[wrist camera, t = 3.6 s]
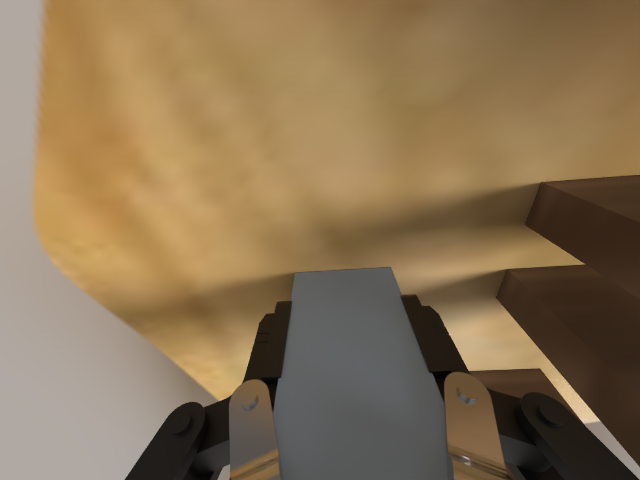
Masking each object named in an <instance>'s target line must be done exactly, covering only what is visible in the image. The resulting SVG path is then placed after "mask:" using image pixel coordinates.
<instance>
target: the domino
mask: <svg viewBox="0 0 640 480" xmlns="http://www.w3.org/2000/svg"><path fill="white" fill-rule="evenodd" d="M400 295H402V294H401V292H400V289H399V287H398V284H397V282H396V279H395V277H394V274H393V271H392V269H391V267H384V268H368V269H351V270H334V271H318V272H301V273H295V276H294V282H293V288H292V295H291V301H292V307H291V314H290V321H289V328H288V334H287V341H286V348H285V355H284V362H283V369H282V375H281V378H278V385H277V391H276V397H275V404H274V410H273V416H274V422H275V428H276V434H277V441H278V447H279V453H280V459H281V465H282V471H283V478H284V480H448V478H447V458H446V439H445V419H444V402H443V399H442V397H441V394H440V392H439V389H438V386H437V384H436V381H435V379H434V376H433V374H432V373H429V371H428V368H427V365H426V363H425V360H424V357H423V355H422V352H421V350H420V347H419V344H418V342H417V339H416V336H415V334H414V331H413V329H412V326H411V323H410V321H409V318H408V315H407V313H406V310H405V308H404V305H403V302H402V300H401V297H400Z"/></svg>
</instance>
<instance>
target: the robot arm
mask: <svg viewBox="0 0 640 480" xmlns="http://www.w3.org/2000/svg"><path fill="white" fill-rule="evenodd" d="M400 297H401V300H402V302H403V305H404V308H405V310H406V313H407V315H408V318H409V321H410V323H411V326H412V329H413V331H414V334H415V336H416V339H417V342H418V344H419V347H420V350H421V352H422V355H423V357H424V360H425V363H426V365H427V368H428V371H429V373H432V374H433V376H434V379H435V381H436V384H437V386H438V389H439V392H440V394H441V397H442V399H443V402H444V419H445V439H446V458H447V478H448V480H513V479H512V478H511V477H509V475H508V474H507V471H506V468H505V464H504V462H505V463H506V465H507V466H508V468H509V469H510V471H511V472H512V473H513V475H514V476H515V478H516V479H517V480H639V479H638V478H637V477H636V476H635V475H634V474H633V473H632V472H631V471H630V470H629V469H628V468H627V467H626V466H625V465H624V464H623V463H622V462H621V461H620V460H619V459H618V458H617V457H616V456H615V455H614V454H613V453H612V452H611V451H610V450H609V449H608V448H607V447H606V446H605V445H604V444H603V443H602V442H601V441H600V440H599V439H598V438H597V437H596V436H595V435H594V434H593V433H592V432H591V431H590V430H588V428H586V426H585V425H584V424H583V423H581V422H580V421H579V420H578V419H577V418H576V417H575V416H574V415H573V414H572V413H571V412H570V411H569V410H568V409H567V408H566V407H565V406H564V405H563V404H561V403H560V402H559V401H557V400H555V399H554V398H552V397H550V396H548V395H545V394H542V393H538V392H529V393H527V394H525V395H524V396H523V397H522V398H518V397H514V396H511V395H507V394H504V393H500V392H497V391H494V390H491V389H489V388H487V387H485V386H484V385H483V384H482V383H481V382H480V381H479V380H478V379H477V378H475V377H473V376H472V375H471V374H470V372H469V371H468V369H467V367H466V365H465V363H464V361H463V360H462V358H461V356H460V354H459V352H458V350H457V348H456V346H455V344H454V342H453V341H452V339H451V337H450V336H449V333H448V331H447V329H446V327H444V323H443V321H442V320H441V318H440V316H439V314H438V313H437V312H436V311H435V310H434V309H432V308H431V307H430V306H422V305H421V303H420V301H419V299H418V297H417V295H400ZM291 307H292V301H281V302H277V304H276V308H275V313H270V314H266V315H265V316H264V318H263V319H262V320H261V322H260V323H259V327H258V331H257V335H256V338H255V342H254V345H253V349H252V352H251V356H250V360H249V363H248V367H247V371H246V374H245V378H244V380H243V382H242V384H241V385H240V386H239V387H238V388H237V389H236V390H235V391H234V393H233V394H232V395H231V396H230V397H228V398H226V399H224V400H222V401H219V402H217V403H214V404H211V405H209V406H206V407H204V408H203V407H202V405H201V404H199V403H197V402H189V403H186V404H183V405H181V406H180V407H178V408H176V409H175V410H174V411H173V412H172V413H171V414H170V415H169V416H168V418H167V419H166V420H165V422H164V423H163V424H162V426H161V427H160V429H159V430H158V432H157V433H156V435H155V436H154V438H153V439H152V441H151V442H150V444H149V445H148V446H147V448H146V449H145V451H144V452H143V454H142V455H141V457H140V458H139V460H138V461H137V462H136V464H135V465H134V467H133V468H132V470H131V472H130V473H129V474H128V476H127V477H126V479H125V480H217V479H218V477H219V474H220V472H221V470H222V468H223V467H224V466H226V465H229V464H230V479H229V480H284V478H283V471H282V465H281V459H280V453H279V447H278V441H277V434H276V428H275V422H274V416H273V410H274V404H275V397H276V391H277V385H278V378H281V375H282V369H283V362H284V355H285V348H286V341H287V334H288V328H289V321H290V314H291Z"/></svg>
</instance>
